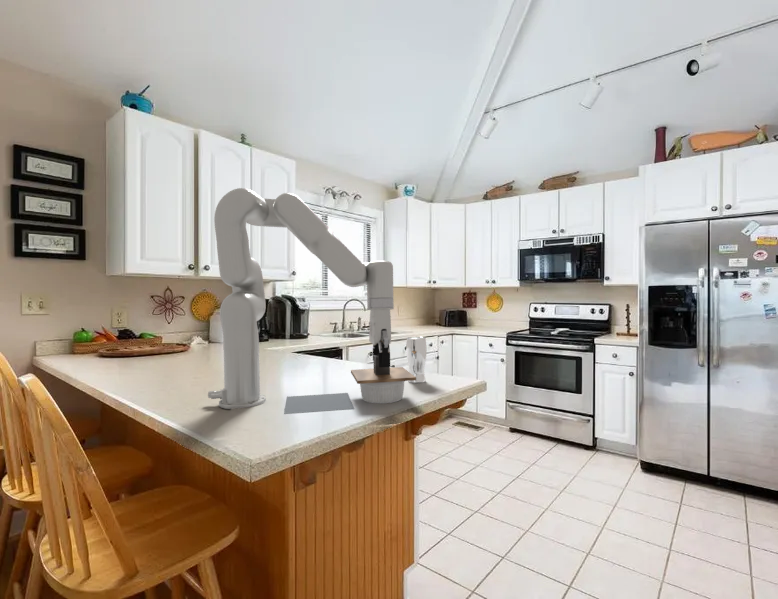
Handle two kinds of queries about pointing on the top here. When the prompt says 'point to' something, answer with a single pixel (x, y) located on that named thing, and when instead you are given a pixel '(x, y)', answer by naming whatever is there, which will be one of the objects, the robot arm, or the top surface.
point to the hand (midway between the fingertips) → (381, 363)
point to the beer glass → (416, 357)
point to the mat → (318, 403)
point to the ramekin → (382, 392)
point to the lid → (381, 374)
